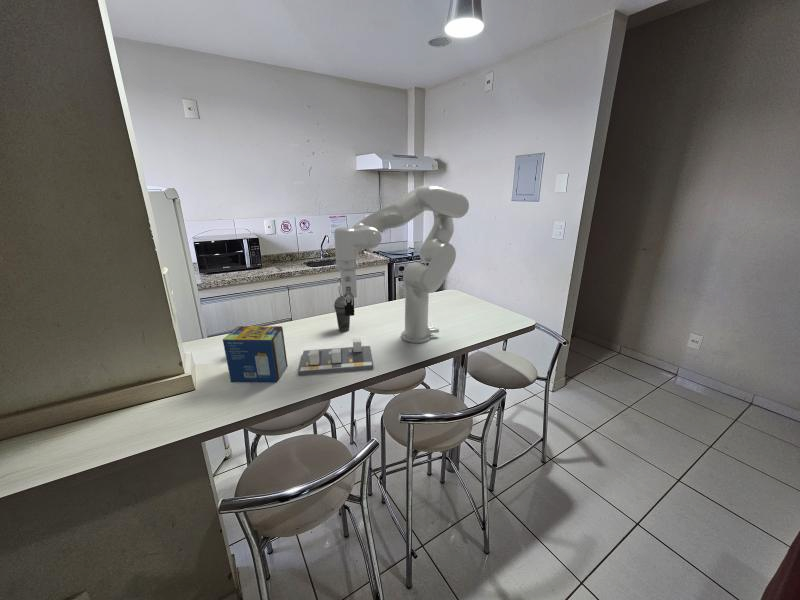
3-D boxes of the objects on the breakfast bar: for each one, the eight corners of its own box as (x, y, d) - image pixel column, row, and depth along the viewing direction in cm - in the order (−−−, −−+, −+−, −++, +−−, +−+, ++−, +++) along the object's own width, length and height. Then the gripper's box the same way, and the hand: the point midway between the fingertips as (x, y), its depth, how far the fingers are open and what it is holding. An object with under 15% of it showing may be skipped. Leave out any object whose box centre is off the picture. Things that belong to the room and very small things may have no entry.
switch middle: (341, 358, 116) (340, 348, 115) (341, 362, 113) (340, 352, 112) (332, 359, 116) (331, 348, 114) (332, 363, 113) (331, 352, 111)
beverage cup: (349, 334, 140) (346, 289, 133) (333, 332, 141) (329, 288, 135) (354, 327, 146) (352, 284, 140) (339, 326, 148) (336, 283, 141)
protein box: (244, 366, 115) (237, 325, 110) (288, 366, 115) (283, 325, 110) (229, 382, 105) (221, 339, 100) (277, 383, 105) (271, 339, 100)
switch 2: (361, 347, 124) (360, 338, 122) (361, 351, 121) (361, 341, 120) (353, 348, 123) (352, 338, 122) (353, 352, 120) (353, 342, 119)
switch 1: (319, 360, 115) (318, 349, 114) (319, 364, 112) (318, 354, 111) (310, 360, 114) (309, 350, 113) (310, 365, 112) (309, 354, 110)
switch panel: (370, 349, 127) (370, 345, 126) (373, 369, 113) (373, 364, 112) (304, 354, 123) (303, 349, 122) (299, 375, 109) (298, 370, 108)
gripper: (358, 269, 105) (360, 318, 110) (357, 258, 121) (359, 302, 126) (335, 270, 104) (338, 320, 109) (337, 259, 120) (340, 303, 125)
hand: (349, 310), depth 118 cm, fingers open, 9 cm apart
